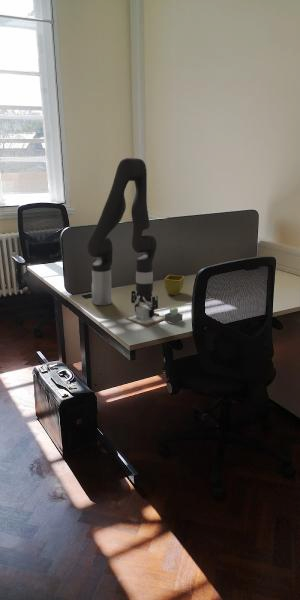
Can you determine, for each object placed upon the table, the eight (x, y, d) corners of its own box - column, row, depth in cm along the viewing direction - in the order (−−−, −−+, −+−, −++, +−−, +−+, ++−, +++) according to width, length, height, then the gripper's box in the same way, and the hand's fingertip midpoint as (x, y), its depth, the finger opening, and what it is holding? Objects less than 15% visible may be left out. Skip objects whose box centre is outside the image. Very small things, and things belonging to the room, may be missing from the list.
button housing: (164, 320, 194) (164, 314, 193) (172, 317, 198) (172, 311, 197) (174, 323, 191) (174, 317, 190) (182, 320, 194) (182, 314, 193)
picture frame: (124, 318, 196) (124, 316, 195) (144, 311, 205) (144, 309, 205) (147, 327, 187) (147, 324, 187) (166, 318, 196) (166, 316, 196)
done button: (168, 317, 194) (168, 309, 192) (173, 315, 196) (173, 307, 195) (174, 319, 191) (174, 311, 190) (179, 317, 194) (179, 309, 193)
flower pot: (179, 297, 226) (180, 280, 223) (163, 295, 229) (164, 278, 226) (183, 292, 234) (184, 276, 231) (168, 290, 236) (168, 274, 234)
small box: (152, 318, 195) (152, 307, 194) (142, 320, 192) (142, 310, 190) (145, 314, 200) (145, 304, 198) (135, 316, 196) (135, 306, 195)
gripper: (126, 279, 192) (127, 313, 197) (150, 285, 183) (150, 321, 188) (138, 276, 197) (138, 309, 202) (162, 282, 188) (161, 316, 193)
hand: (144, 315), depth 195 cm, fingers open, 8 cm apart
